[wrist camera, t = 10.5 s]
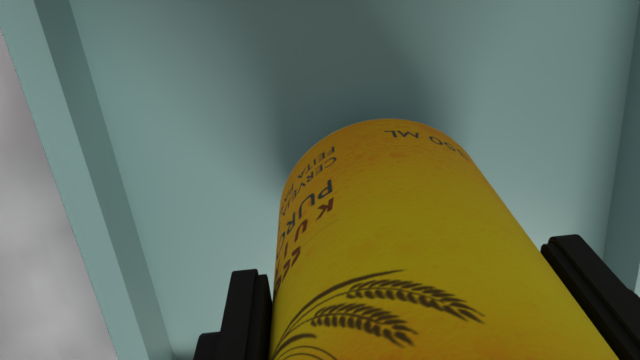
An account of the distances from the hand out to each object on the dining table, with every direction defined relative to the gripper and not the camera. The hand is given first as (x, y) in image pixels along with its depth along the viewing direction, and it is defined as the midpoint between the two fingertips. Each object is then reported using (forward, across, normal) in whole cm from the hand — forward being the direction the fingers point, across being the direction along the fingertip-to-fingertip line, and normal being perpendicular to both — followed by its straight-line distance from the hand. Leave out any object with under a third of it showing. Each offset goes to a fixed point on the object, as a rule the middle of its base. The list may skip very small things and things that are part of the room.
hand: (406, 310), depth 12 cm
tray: (+7, 0, 0) cm, 7 cm away
